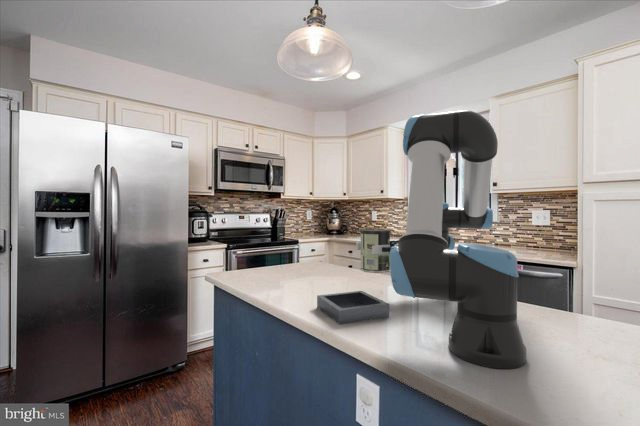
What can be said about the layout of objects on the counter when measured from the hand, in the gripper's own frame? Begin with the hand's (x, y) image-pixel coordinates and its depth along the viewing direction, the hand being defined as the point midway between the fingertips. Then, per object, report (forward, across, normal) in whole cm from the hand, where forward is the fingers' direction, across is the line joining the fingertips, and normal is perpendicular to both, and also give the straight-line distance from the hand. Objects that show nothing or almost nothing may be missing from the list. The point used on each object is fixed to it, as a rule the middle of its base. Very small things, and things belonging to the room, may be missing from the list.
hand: (364, 247), depth 110 cm
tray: (+10, -10, -18) cm, 23 cm away
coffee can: (-4, 0, -8) cm, 9 cm away
